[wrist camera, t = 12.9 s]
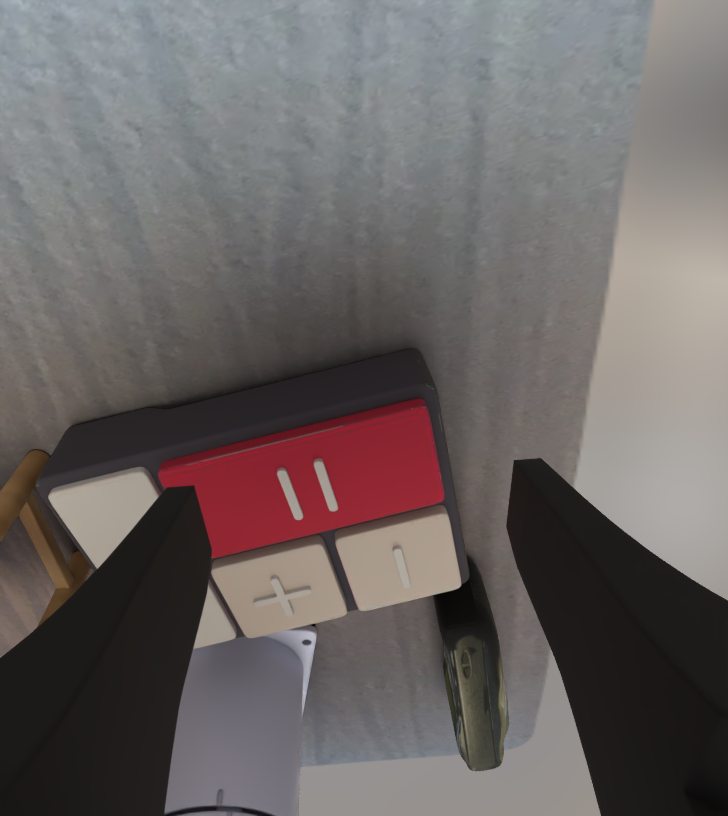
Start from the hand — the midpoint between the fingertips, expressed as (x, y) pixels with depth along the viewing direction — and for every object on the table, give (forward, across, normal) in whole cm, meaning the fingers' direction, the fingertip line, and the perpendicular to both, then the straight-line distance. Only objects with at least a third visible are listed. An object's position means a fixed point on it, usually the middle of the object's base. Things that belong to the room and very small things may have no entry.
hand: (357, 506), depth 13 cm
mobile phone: (+11, -6, +21) cm, 24 cm away
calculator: (+11, +4, +8) cm, 14 cm away
